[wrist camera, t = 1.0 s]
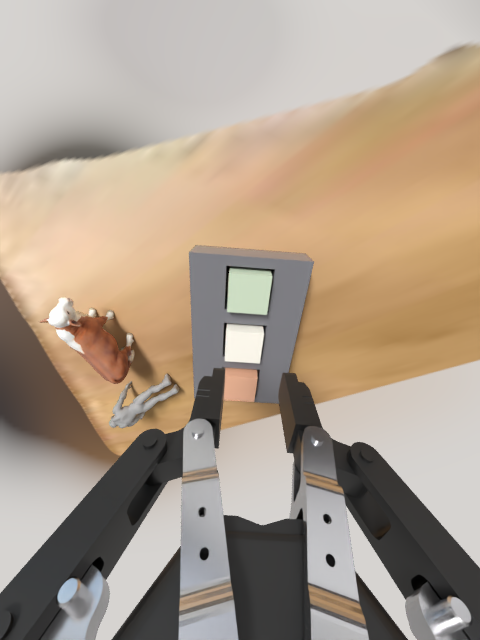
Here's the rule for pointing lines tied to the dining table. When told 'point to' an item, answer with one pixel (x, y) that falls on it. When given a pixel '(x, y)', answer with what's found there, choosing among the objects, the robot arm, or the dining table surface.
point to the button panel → (277, 324)
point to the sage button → (249, 290)
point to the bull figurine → (92, 340)
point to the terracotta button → (240, 384)
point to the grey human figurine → (139, 404)
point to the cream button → (243, 343)
